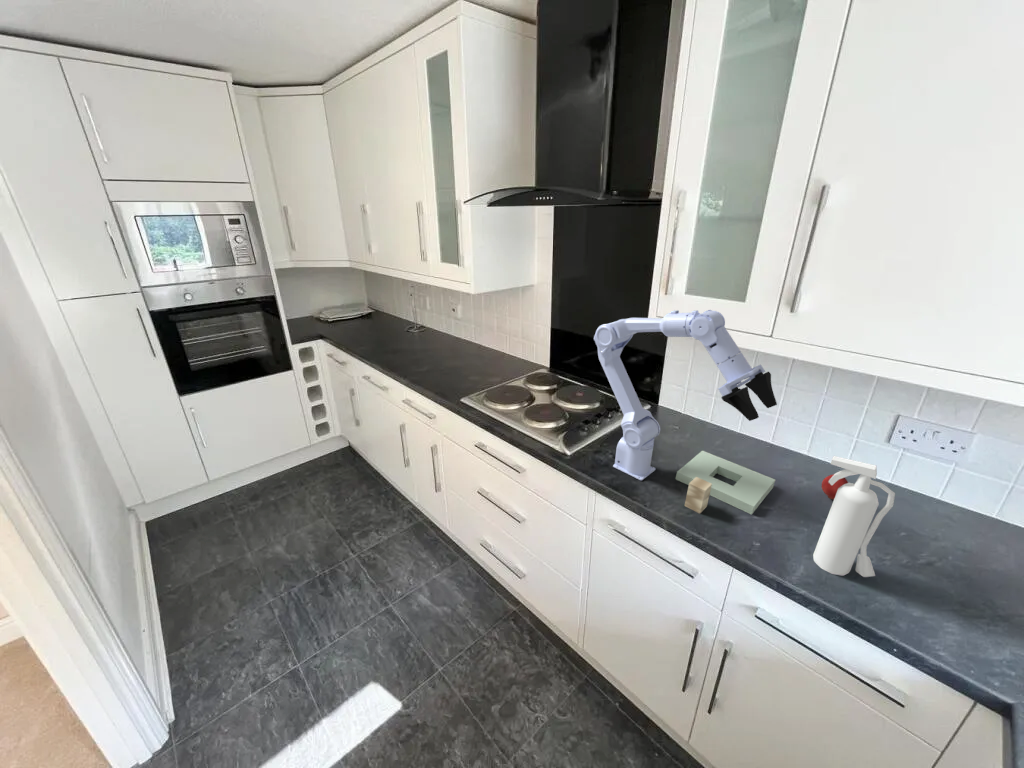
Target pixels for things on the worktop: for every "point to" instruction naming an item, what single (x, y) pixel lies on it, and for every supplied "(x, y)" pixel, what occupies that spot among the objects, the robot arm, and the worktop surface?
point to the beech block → (698, 495)
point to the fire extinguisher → (851, 520)
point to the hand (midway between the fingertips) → (763, 412)
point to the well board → (748, 484)
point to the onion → (832, 486)
